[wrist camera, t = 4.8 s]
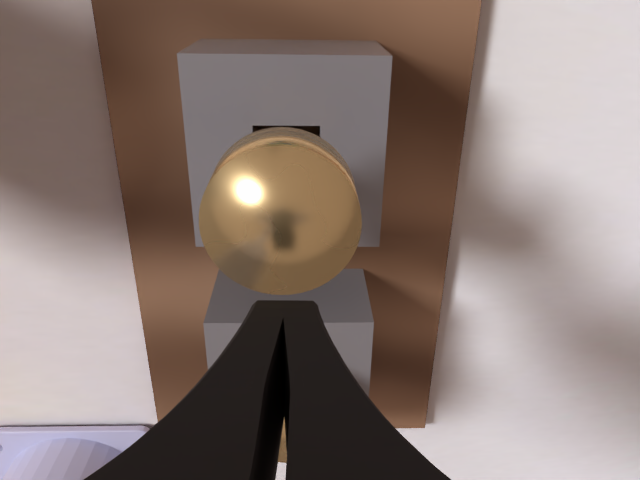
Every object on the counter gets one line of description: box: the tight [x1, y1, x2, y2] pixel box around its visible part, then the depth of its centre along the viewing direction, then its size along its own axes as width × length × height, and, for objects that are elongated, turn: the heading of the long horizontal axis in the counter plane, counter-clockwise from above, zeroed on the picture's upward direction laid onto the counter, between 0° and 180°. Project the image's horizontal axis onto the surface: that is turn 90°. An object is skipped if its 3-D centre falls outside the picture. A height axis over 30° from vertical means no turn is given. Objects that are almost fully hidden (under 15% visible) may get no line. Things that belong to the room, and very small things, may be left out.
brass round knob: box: [199, 127, 362, 295], centre depth 14 cm, size 4×4×6 cm
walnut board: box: [91, 0, 482, 428], centre depth 22 cm, size 21×13×1 cm, turn 179°
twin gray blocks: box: [177, 39, 392, 397], centre depth 20 cm, size 15×6×4 cm, turn 179°
